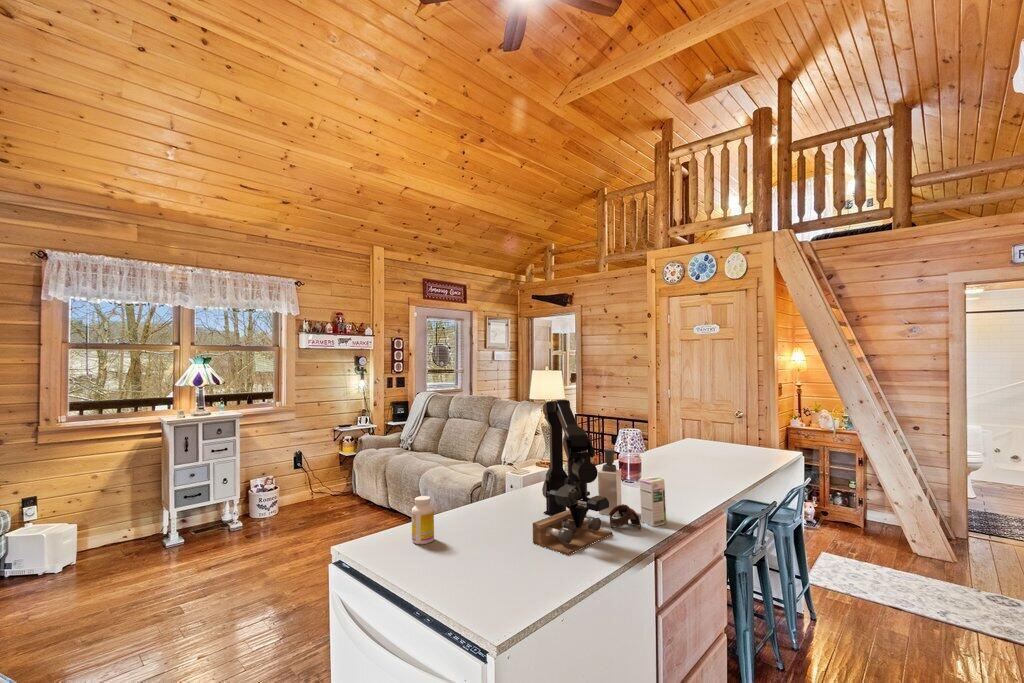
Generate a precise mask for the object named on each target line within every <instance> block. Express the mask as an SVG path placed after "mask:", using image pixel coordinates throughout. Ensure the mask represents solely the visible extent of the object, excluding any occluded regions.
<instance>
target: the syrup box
mask: <svg viewBox="0 0 1024 683" xmlns="http://www.w3.org/2000/svg"><path fill="white" fill-rule="evenodd" d="M665 491H666V487H665V479H663V478H662V477H661V478H660V477H656V476H649V477H644V478H641V477H640V478H639V496H640V517H641V519H640V522H641V523H643V522H644V523H643V524H645V523H646V524H645V525H647V524H648V525H647V526H650V525H651V527H652V528H654V527H656V526H657V527H658V526H661V525H666V524H667V510H666V492H665Z"/></svg>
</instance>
